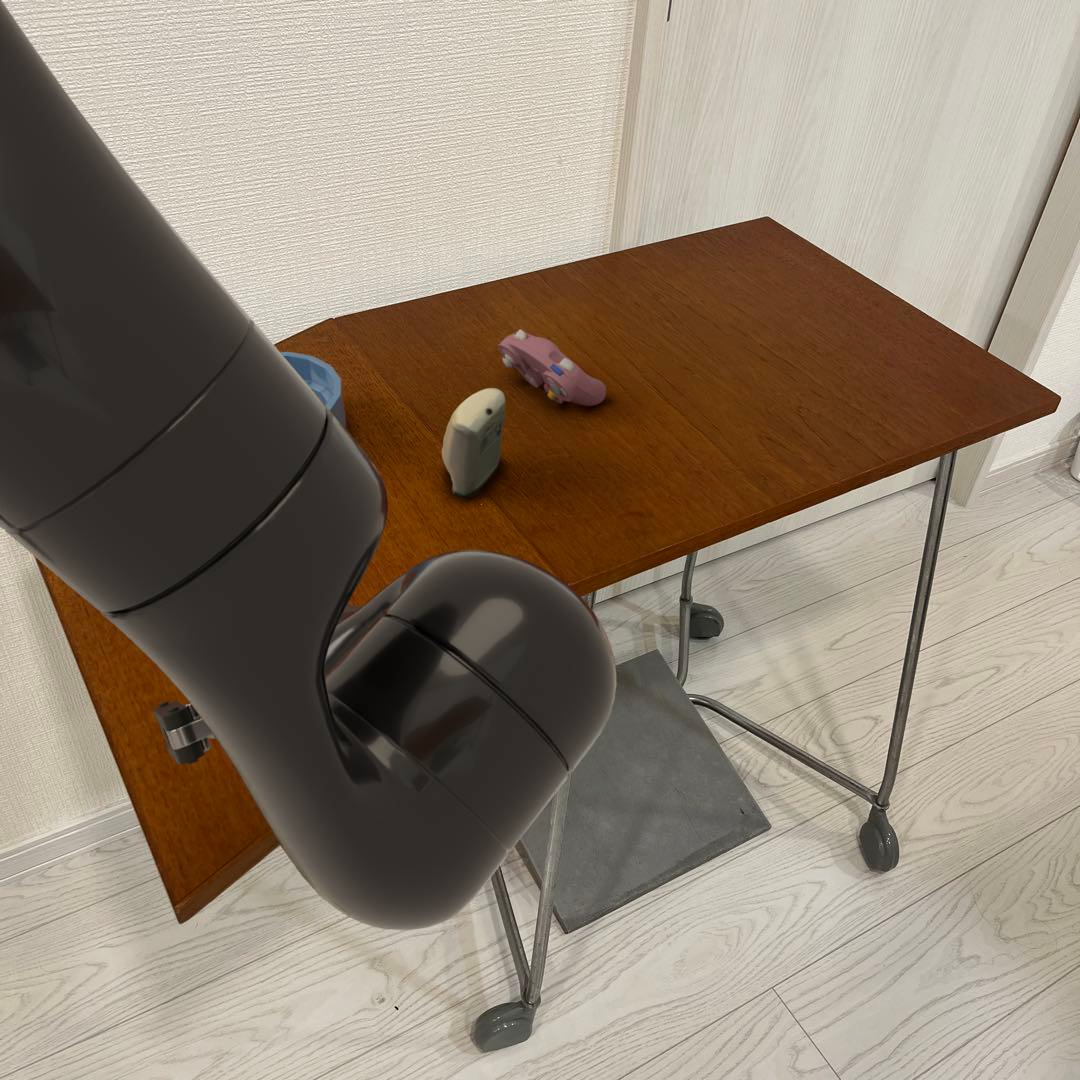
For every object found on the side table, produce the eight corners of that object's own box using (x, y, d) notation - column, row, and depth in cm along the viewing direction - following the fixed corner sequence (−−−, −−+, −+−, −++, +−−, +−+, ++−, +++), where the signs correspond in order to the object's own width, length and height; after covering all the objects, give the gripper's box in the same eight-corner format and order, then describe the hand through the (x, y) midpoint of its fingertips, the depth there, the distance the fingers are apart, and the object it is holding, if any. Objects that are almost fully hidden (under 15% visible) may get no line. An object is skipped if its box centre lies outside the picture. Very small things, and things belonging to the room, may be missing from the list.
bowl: (238, 495, 82) (227, 447, 78) (198, 421, 89) (185, 373, 85) (367, 454, 86) (362, 406, 83) (318, 386, 93) (312, 339, 89)
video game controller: (508, 383, 97) (482, 339, 91) (540, 350, 97) (516, 304, 91) (580, 432, 91) (558, 389, 86) (613, 396, 92) (594, 351, 86)
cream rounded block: (508, 503, 82) (509, 424, 77) (444, 505, 82) (440, 427, 76) (503, 458, 86) (504, 380, 81) (442, 460, 86) (438, 382, 80)
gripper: (453, 555, 46) (373, 571, 61) (135, 674, 41) (134, 659, 56) (508, 708, 46) (416, 687, 61) (201, 846, 41) (182, 786, 56)
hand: (282, 674), depth 59 cm, fingers open, 8 cm apart
